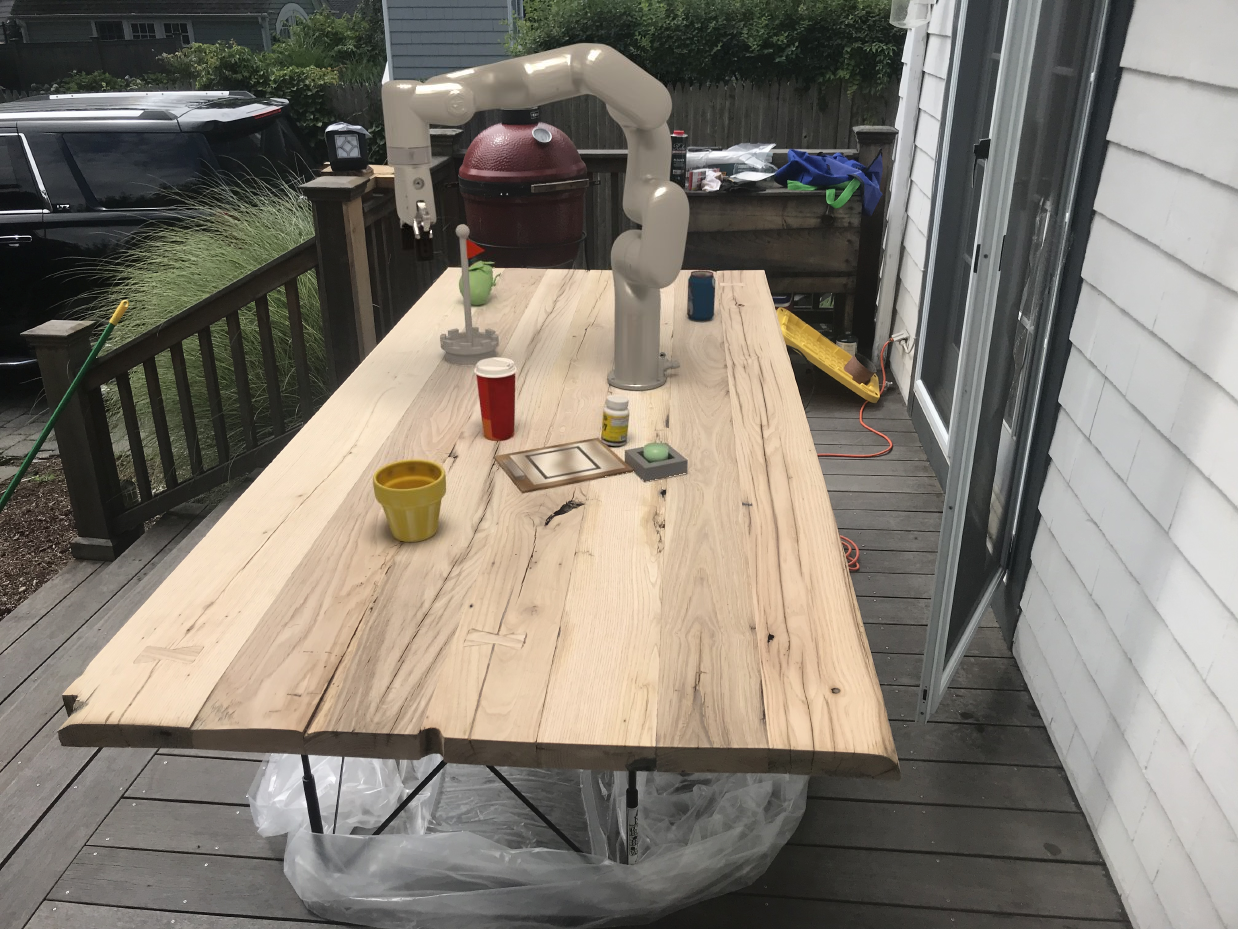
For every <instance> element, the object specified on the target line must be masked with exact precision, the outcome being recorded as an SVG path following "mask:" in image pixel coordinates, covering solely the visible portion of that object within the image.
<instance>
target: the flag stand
mask: <svg viewBox="0 0 1238 929" xmlns="http://www.w3.org/2000/svg"><path fill="white" fill-rule="evenodd" d="M470 233H471V232H470V228H469V226H467V225H466V224H464V223H463V224H459V225H457V227H456V228H455V234H456V236H457V237H458V238H459V250H460V264H461V276H462V283H463V297H462V298H463V310H464V311H463V312H464V328H465V331H462V332H460V331H459V328H457V327H456V328H451V329H448V330H447V333H441V334H440V335H439V340H440V348H441V349H442V350H443V351H444V352H445V360H446V362H448V363H449V364H451V363H452V365H455V364H456V365H457V366H462V365H464V367H465V365H466V367H469V366H468V365H474V366H476V364H477V363H478V362H479V361H481V360H483V359H487V358H496V354H495V353H496V352H495V350H496V349H497V348H498V347H499V346H500V344H499V333H496V330H494V329H492V328H485V329H484V330H485V331H480V330H479V326H473V318H472V316H473V315H472V304H471V300H470V284H469V259H471V258H472V257H475V256H477V255H479V254H481V253H483V252H485V251H486V250H485V249H483V248H482V247H480V246H478V245H477V244H476V243H474V242H472V241H471V240H469V239H468V237H469V235H470Z"/></svg>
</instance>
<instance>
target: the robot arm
mask: <svg viewBox="0 0 1238 929" xmlns="http://www.w3.org/2000/svg"><path fill="white" fill-rule="evenodd" d="M583 95H592V96H595V97H597V98H598V99H600V100H601V101H602V102H604V103H605V106H606V110H607V112H608V114H609V116H610V117H611V118H612V119H613V120H614V121H615V122H616V123H617V124H619V126H620V127H621V129H622V131H623V133H624V135H625V138H626V141H627V142H626V143H627V162H626V163H627V164H626V171H625V172H626V173H625V180H624V188H623V189H624V190H623V198H622V208H623V211H624V213H625V215H626V217H627V218H628V219H630V220H631V221H632V222H634V223H636V224H639V225H641V226H642V227H641V230H640V229H628V230H626V231H624V232H622V233H620V235H619V236H617V237H616V239H615V240H614V243H613V245H612V247H611V251H610V264H611V265H610V266H611V272H612V279H613V287H614V323H613V324H614V326H613V327H614V328H613V330H614V335H613V336H614V342H613V343H614V344H613V346H614V347H613V350H614V351H613V352H614V353H613V355H614V357H613V358H614V359H613V360H614V365H613V366H614V367H613V369H611V370H610V371H608V373H607V375H606V381H607V382H608V383H609V384H610V385H611V386H613V387H616V388H619V389H622V390H623V389H624V390H630V391H631V390H632V391H644V390H652V389H656V388H659V387H661V386H663V385H664V384H665V383H666V382H667V375H666V373H665V372H667V371H668V370H674V369H679V368H680V367H681V362H680V360H679V359H671V360H669V357H666V358H665V357H664V358H661V357H660V346H661V344H660V341H661V307H662V306H661V304H662V301H661V300H662V297H661V289H666V288H668V287H669V286H670V285H672V284H673V283H674V282H675V281H676V280H677V278H678V277H679V275H680V272H681V270H682V267H683V266H682V265H683V263H684V256H685V249H686V242H687V236H688V227H689V222H690V221H689V220H690V204H689V199H688V196H687V194H686V193H685V191H684V189H683V188H682V186H680V185H679V184H677V183H675V182H673V181H670V180H671V178H670V177H671V167H672V166H671V163H672V151H673V150H672V148H673V147H672V146H673V145H672V138H671V131H670V128H669V126H668V123H667V121H668V120H669V118H670V115H671V114H672V109H673V103H672V102H673V100H672V98H671V94H670V92H669V91H668V88H666V87H665V85H664V84H663V83H662V82H661V81H660V80H658V79H656V78H655V77H654V76H652V75H651V74H649V73H648V72H647V71H645V70H644V69H643V68H641V67H640V66H639V65H637V64H636V63H634V62H633V61H631V60H630V59H629V58H627V57H626V56H625V55H623V54H622V53H620V52H619V51H617V50H616V49H615V48H613V47H612V46H610V45H606V44H603V43H589V42H588V43H587V42H582V43H581V42H580V43H575V44H570V45H566V46H562V47H559V48H553V49H550V50H546V51H545V50H544V51H541V52H538V53H533V54H532V53H531V54H528V55H523V56H519V57H515V58H510V59H506V60H501V61H498V62H493V63H490V64H485V65H479V66H474V67H469V68H465V69H461V70H456V71H453V72H452V71H451V72H448V73H442V74H439V75H436V76H431V77H430V78H428V79H427V80H426V81H425V82H422V81H419V80H413V79H396V80H395V79H394V80H388V81H386V82H384V83H383V84H382V86H381V102H382V111H383V122H384V123H383V124H384V133H385V142H386V153H387V154H386V155H387V166H388V167H390V168H393V177H394V193H395V204H396V211H397V215H398V217H399V219H400V220H399V225H400V230H399V231H400V239H401V248H402V250H403V251H412V250H413V251H414V254H415V255H414V256H415V261H416V262H427V261H434V260H435V253H434V242H433V241H434V238H433V232H432V229H433V228H432V225H435V224H436V222H437V212H436V205H435V197H434V189H433V182H432V175H431V172H430V166H433V159H432V158H433V157H432V146H431V135H430V134H431V132H430V124H431V125H441V126H451V127H455V126H462V125H464V124H466V123H467V122H469V121H470V120H471V119H472V117H473V116H474V114H475V113H477V112H481V111H490V110H497V109H502V110H503V109H507V110H521V109H523V110H524V109H529V108H531V109H532V108H536V107H539V106H543V105H546V104H549V103H553V102H558V101H561V100H565V99H566V100H567V99H570V98H574V97H578V96H583Z"/></svg>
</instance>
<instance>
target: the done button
mask: <svg viewBox="0 0 1238 929" xmlns="http://www.w3.org/2000/svg"><path fill="white" fill-rule="evenodd" d="M663 443H664V442H650V443H646V444H645V445H644V446H643V447H644V459H645V460H646V461H647V462H648V463H653V462H658V461H664V460H668V446H667V445H665V444H663Z"/></svg>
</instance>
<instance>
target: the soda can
mask: <svg viewBox="0 0 1238 929" xmlns="http://www.w3.org/2000/svg"><path fill="white" fill-rule="evenodd" d="M716 282H717V281H716V279H715V276H714V272H713V271H711V270H710V271H709V270H704V269H703V270H694V271H691V272H690V275H689V277H688V279H687V299H686V300H687V302H686V315H687V317H688V319H689V320H690V321H692V322H695V323H707V322H711V320H712V318H713V317H714V316H715V303H716V302H715V300H716V299H715V298H716Z"/></svg>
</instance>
